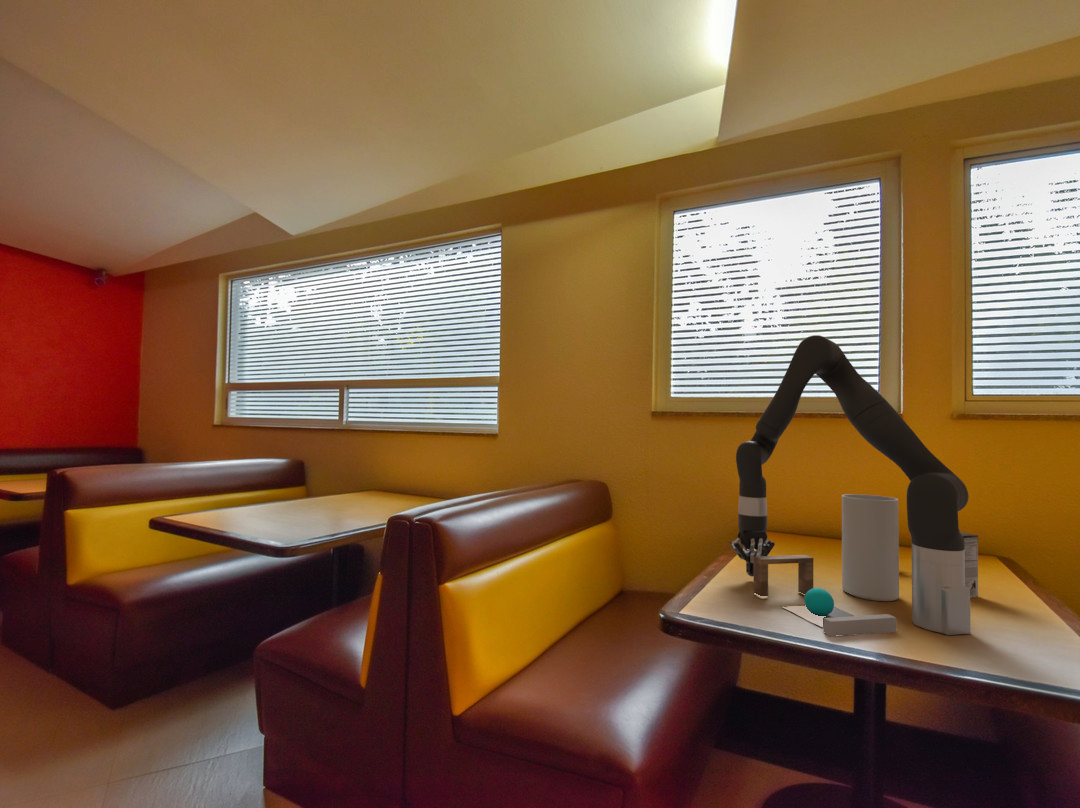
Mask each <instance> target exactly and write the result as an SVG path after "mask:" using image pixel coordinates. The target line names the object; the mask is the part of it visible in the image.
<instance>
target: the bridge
mask: <svg viewBox="0 0 1080 808" xmlns="http://www.w3.org/2000/svg"><path fill="white" fill-rule="evenodd" d="M779 564H780V565H784V564H785V565H787V564H797V565H798V566H797V567H798V568H797V572H798V579H797V580H798V583H797V584H798V586H797V587H798V591H797V593H798V592H801V593H803V594H806V593H807V592H808V591H809V590H810V589H813V588H814V557H812V556H809V555H806V554H796V555H795V554H794V555H793V554H791V555H789V554H788V555H768V556H756V557H754V576H753V594H754V593H756V594H758V595H760V596H768V597H769V565H779Z"/></svg>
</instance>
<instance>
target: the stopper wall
mask: <svg viewBox="0 0 1080 808" xmlns="http://www.w3.org/2000/svg"><path fill="white" fill-rule="evenodd" d="M822 629H823V631H822V633H823V632H825V633H826V634H825V633H824V634H825V635H827V634H828V635H827V636H829V635H830V636H829V637H831V636H832V637H837V636H836V635H847V636H856V635H855V634H858V635H857V636H859V634H861V635H872V634H873V635H874V634H884V633H885V634H886V633H897V617H896V616H893V615H892V614H889V613H886V614H885V613H883V614H871V615H870V614H867V615H854V616H849V617H833V618H823V628H822Z"/></svg>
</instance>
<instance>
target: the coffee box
mask: <svg viewBox="0 0 1080 808" xmlns="http://www.w3.org/2000/svg"><path fill="white" fill-rule="evenodd" d="M960 533H961V535H962V536H963V537H964V544H965V549H964V550H965V586H966V587H969V588H970V599H971V598H972V597H973V598H978V597H979V535H978V534H973V533H969V532H963V531H960Z"/></svg>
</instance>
